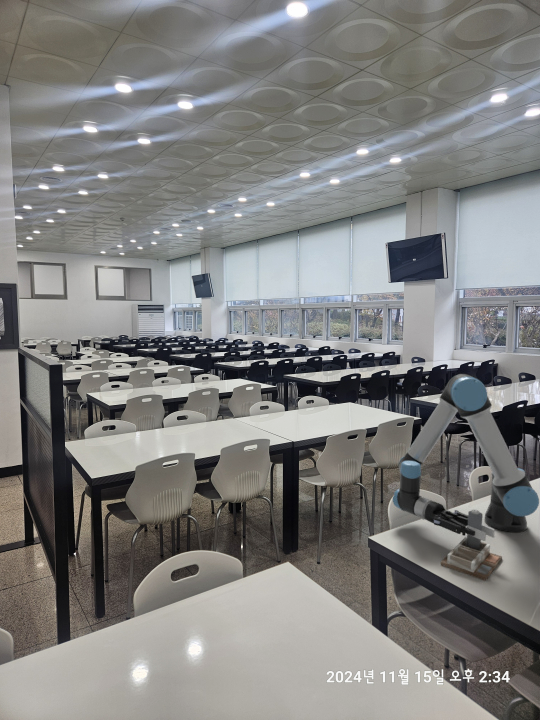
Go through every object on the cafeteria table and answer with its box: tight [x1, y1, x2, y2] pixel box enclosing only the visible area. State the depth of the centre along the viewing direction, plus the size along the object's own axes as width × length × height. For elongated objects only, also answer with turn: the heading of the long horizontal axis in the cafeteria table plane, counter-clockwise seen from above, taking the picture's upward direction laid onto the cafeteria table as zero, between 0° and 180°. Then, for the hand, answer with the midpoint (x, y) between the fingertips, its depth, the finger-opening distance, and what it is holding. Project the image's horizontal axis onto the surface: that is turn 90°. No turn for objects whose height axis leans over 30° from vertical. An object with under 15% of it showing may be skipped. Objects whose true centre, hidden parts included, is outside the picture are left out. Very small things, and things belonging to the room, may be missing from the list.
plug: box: [466, 509, 484, 550], centre depth 160 cm, size 4×4×13 cm
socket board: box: [440, 536, 503, 581], centre depth 156 cm, size 18×14×4 cm
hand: (489, 535), depth 155 cm, fingers closed on plug, 4 cm apart
